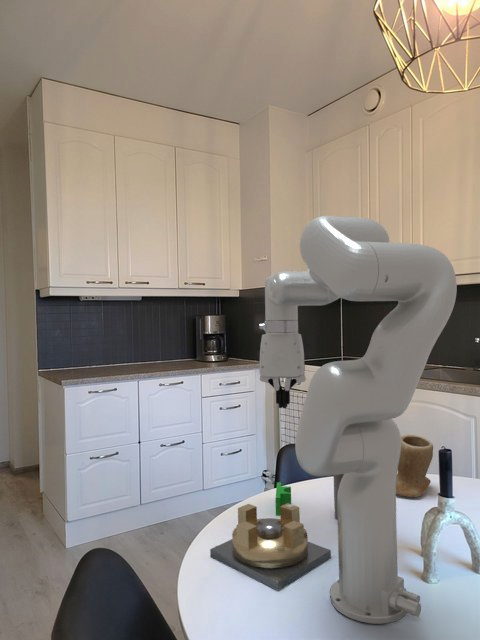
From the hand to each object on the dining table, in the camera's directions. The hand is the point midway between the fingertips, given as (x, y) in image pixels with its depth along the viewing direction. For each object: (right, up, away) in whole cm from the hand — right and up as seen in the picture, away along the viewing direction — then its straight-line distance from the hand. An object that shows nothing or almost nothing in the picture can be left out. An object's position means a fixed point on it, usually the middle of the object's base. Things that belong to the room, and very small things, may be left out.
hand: (283, 406), depth 111 cm
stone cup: (+37, -27, +19) cm, 50 cm away
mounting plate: (-4, -27, -16) cm, 32 cm away
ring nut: (-4, -26, -16) cm, 30 cm away
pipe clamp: (+1, -28, +10) cm, 30 cm away
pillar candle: (+17, -27, +3) cm, 32 cm away
